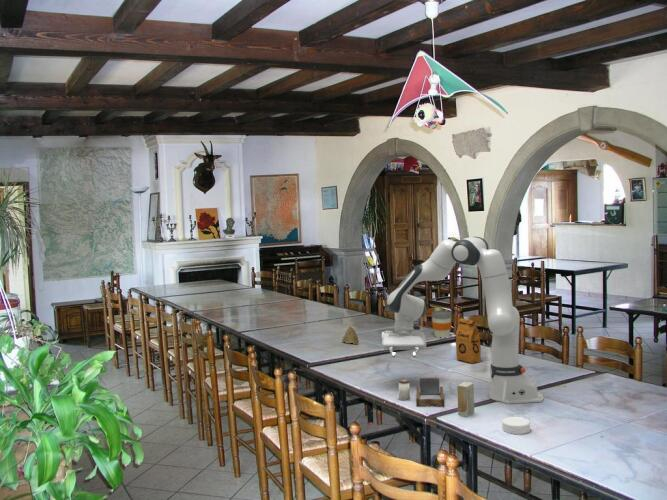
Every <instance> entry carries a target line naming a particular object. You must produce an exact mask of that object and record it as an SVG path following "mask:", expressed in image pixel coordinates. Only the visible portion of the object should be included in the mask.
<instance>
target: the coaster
mask: <svg viewBox="0 0 667 500" xmlns="http://www.w3.org/2000/svg"><path fill="white" fill-rule="evenodd" d="M501 423H502V424H501V425H502V427H501V428H502V430H503V431H504V432H505V433H507V434H510V435H512V434H513V435H524V434H528V433H529V432H531V422H530V421H529V419H527V418H524V417H520V416H509V417H508V416H507V417H505V418H503V419H502V421H501Z"/></svg>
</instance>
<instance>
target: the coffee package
mask: <svg viewBox="0 0 667 500" xmlns="http://www.w3.org/2000/svg"><path fill="white" fill-rule="evenodd" d="M458 322H459V323H458V326H457V329H456V332H455V348H456V349H455V350H456V360H459V361H463V362H466V363H469V364H477V363H481V362H482V356H481V352H482V351H481V349H482V347H481V339H480V333H479V330H478V327H477V324H476V322H475V320H472V319H466V318H459V319H458Z"/></svg>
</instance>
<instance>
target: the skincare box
mask: <svg viewBox="0 0 667 500" xmlns="http://www.w3.org/2000/svg"><path fill="white" fill-rule="evenodd" d="M474 386H475V385H474V382H470V381H469V382H468V381H462V382H460V383H458V384H457V387H456V388H457V393H456V394H457V415H458V416H462V417H469V416H471V415H472V414H474V413H475V391H474Z"/></svg>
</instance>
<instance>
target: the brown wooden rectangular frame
mask: <svg viewBox="0 0 667 500" xmlns="http://www.w3.org/2000/svg"><path fill="white" fill-rule="evenodd" d="M439 392H440V394H439V396H440V398H420V395H421V394H420V386H416V394H415V396H416V397H415V399H416V400H415V402H416V403H415V404H416V407H426V406H429V407H430V406H434V407H436V406H438V407H443V408H444V407H445V395H444V387H443V386H439Z"/></svg>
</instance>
